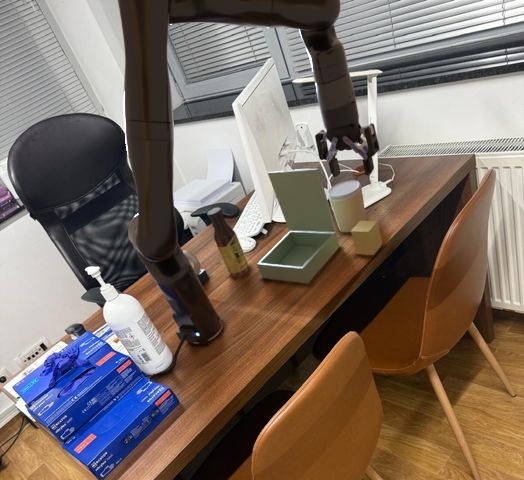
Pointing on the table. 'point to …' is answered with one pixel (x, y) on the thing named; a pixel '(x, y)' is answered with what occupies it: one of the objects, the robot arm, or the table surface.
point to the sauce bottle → (228, 244)
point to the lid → (302, 199)
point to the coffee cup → (347, 204)
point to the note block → (366, 237)
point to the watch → (197, 267)
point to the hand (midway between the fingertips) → (352, 174)
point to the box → (298, 256)
